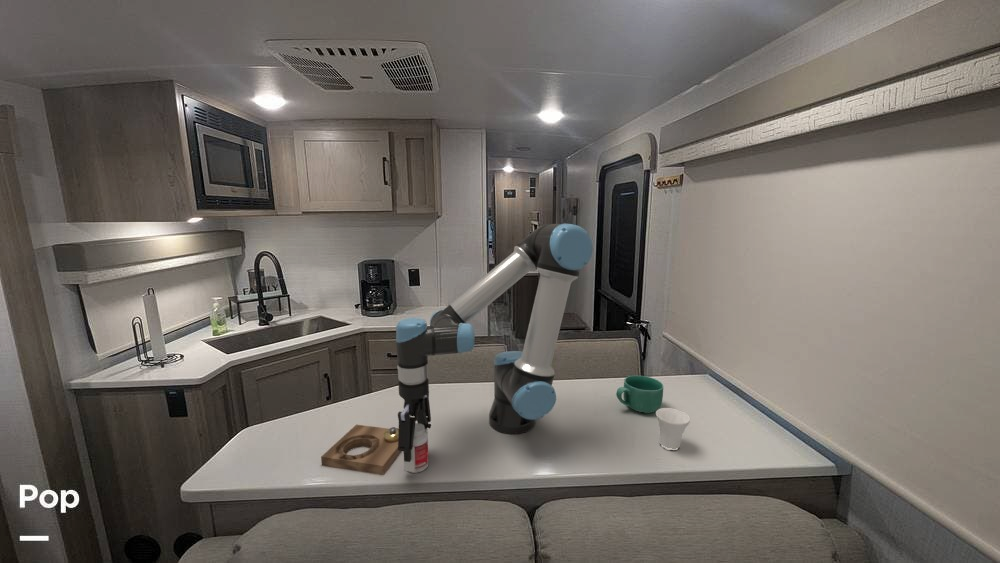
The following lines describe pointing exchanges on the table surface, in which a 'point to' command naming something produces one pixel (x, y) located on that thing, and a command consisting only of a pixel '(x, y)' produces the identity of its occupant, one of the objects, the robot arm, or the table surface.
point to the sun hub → (391, 435)
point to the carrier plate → (368, 461)
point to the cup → (671, 426)
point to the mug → (641, 393)
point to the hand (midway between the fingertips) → (416, 460)
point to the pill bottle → (420, 448)
